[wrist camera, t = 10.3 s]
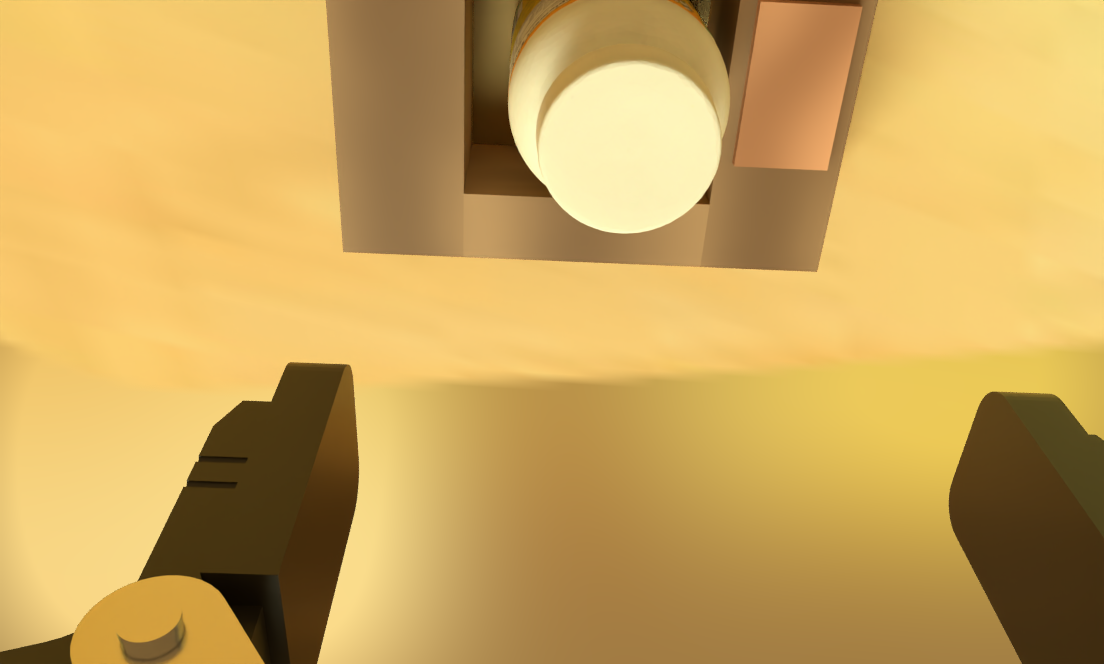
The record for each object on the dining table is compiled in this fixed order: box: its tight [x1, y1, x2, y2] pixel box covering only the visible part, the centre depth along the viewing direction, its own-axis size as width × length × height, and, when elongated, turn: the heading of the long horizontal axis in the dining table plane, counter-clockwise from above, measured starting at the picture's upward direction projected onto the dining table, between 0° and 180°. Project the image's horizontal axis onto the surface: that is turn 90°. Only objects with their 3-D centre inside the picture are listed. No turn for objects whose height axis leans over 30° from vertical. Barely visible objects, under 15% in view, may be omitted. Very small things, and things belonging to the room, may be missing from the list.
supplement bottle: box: [508, 0, 730, 234], centre depth 25 cm, size 5×5×10 cm
